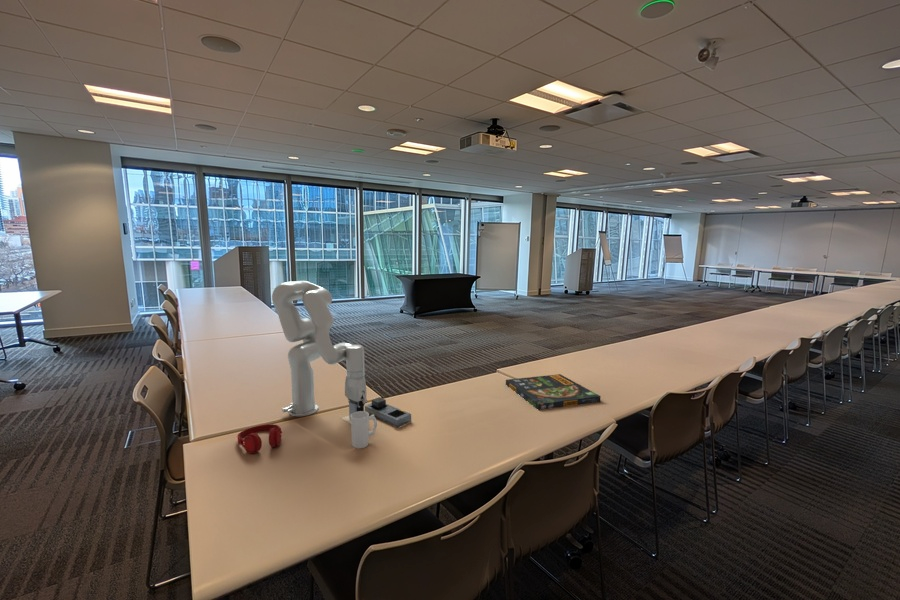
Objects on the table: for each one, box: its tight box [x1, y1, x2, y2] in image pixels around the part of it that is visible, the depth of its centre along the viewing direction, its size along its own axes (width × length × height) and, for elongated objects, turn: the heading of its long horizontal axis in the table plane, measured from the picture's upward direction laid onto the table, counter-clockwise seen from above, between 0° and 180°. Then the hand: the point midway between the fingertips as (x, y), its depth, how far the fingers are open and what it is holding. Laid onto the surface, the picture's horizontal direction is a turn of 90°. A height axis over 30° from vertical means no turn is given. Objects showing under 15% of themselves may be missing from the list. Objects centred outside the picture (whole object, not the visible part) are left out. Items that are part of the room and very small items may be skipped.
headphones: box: [237, 423, 283, 454], centre depth 146 cm, size 15×7×20 cm
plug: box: [348, 399, 365, 419], centre depth 166 cm, size 4×4×9 cm
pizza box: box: [505, 373, 601, 411], centre depth 200 cm, size 35×35×4 cm
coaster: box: [340, 414, 351, 425], centre depth 167 cm, size 10×10×1 cm
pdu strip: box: [364, 397, 412, 429], centre depth 168 cm, size 8×22×6 cm, turn 50°
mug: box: [350, 410, 378, 449], centre depth 145 cm, size 10×7×12 cm, turn 119°
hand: (356, 412), depth 167 cm, fingers closed on plug, 4 cm apart
